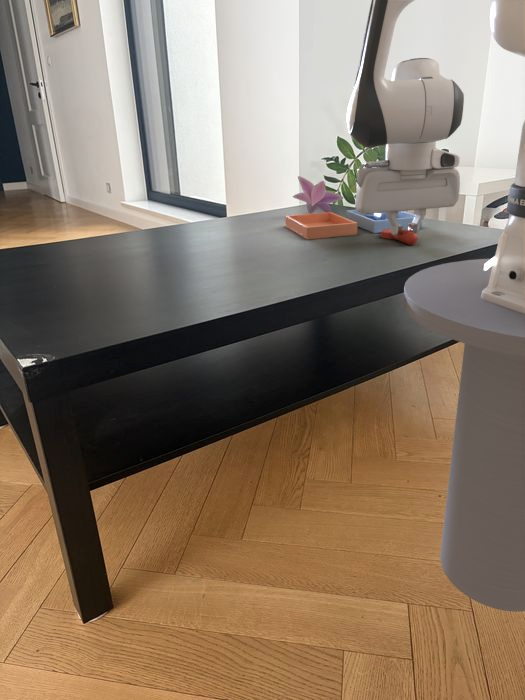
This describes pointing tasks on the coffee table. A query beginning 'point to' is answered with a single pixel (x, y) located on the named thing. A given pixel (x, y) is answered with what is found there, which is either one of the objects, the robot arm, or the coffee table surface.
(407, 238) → the red spoon
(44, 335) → the coffee table surface
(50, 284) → the coffee table surface
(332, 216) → the orange tray
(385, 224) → the blue tray
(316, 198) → the lily
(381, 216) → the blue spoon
